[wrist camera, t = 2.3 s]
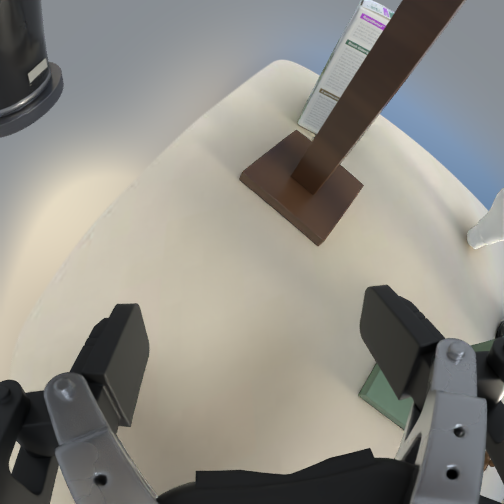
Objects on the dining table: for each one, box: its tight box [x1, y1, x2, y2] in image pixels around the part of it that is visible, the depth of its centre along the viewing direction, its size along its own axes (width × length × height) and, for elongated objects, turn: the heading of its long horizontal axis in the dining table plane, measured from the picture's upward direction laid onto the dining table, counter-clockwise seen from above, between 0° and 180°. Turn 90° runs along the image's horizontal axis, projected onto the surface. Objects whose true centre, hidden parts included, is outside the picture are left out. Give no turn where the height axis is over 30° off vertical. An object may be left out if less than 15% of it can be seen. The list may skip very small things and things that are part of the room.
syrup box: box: [298, 0, 395, 134], centre depth 23 cm, size 6×6×14 cm
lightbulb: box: [467, 188, 504, 249], centre depth 24 cm, size 6×6×11 cm
